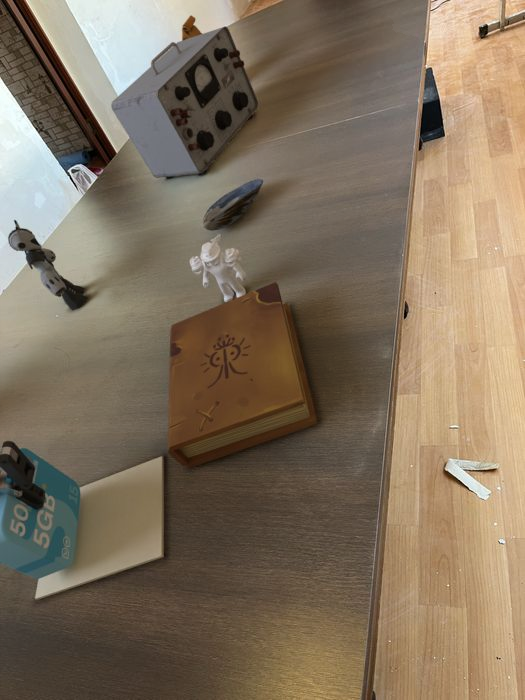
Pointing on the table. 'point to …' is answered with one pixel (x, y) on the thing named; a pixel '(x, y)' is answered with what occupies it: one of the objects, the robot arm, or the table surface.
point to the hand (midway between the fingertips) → (23, 508)
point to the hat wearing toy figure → (220, 268)
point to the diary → (235, 378)
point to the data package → (40, 523)
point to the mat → (114, 527)
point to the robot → (46, 267)
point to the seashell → (231, 206)
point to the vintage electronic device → (187, 104)
